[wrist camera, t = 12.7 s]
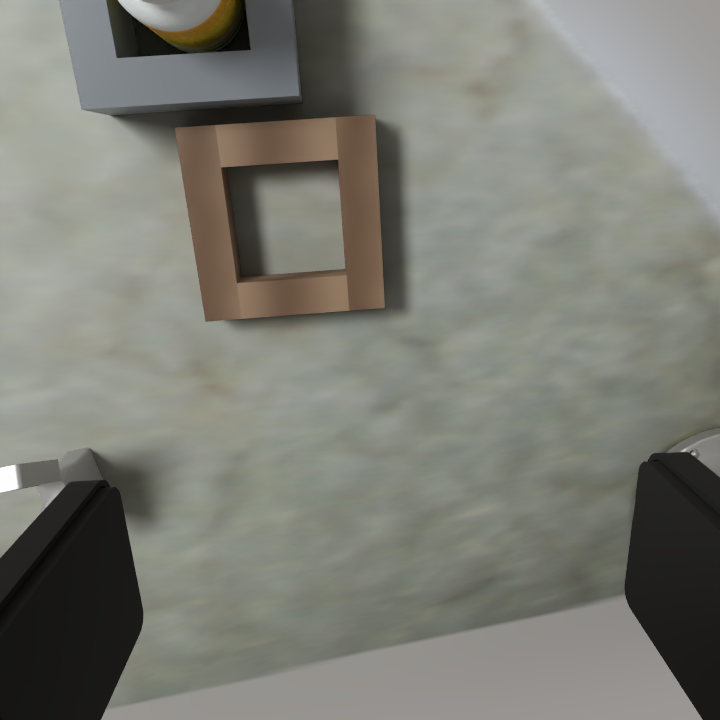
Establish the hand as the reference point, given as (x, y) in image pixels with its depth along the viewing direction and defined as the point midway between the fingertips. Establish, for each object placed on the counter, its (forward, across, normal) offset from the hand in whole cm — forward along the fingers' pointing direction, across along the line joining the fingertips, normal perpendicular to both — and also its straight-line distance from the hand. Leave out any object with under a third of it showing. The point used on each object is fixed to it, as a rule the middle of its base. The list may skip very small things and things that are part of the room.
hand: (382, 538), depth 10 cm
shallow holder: (+27, +4, -4) cm, 28 cm away
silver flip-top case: (+27, +20, +12) cm, 36 cm away
